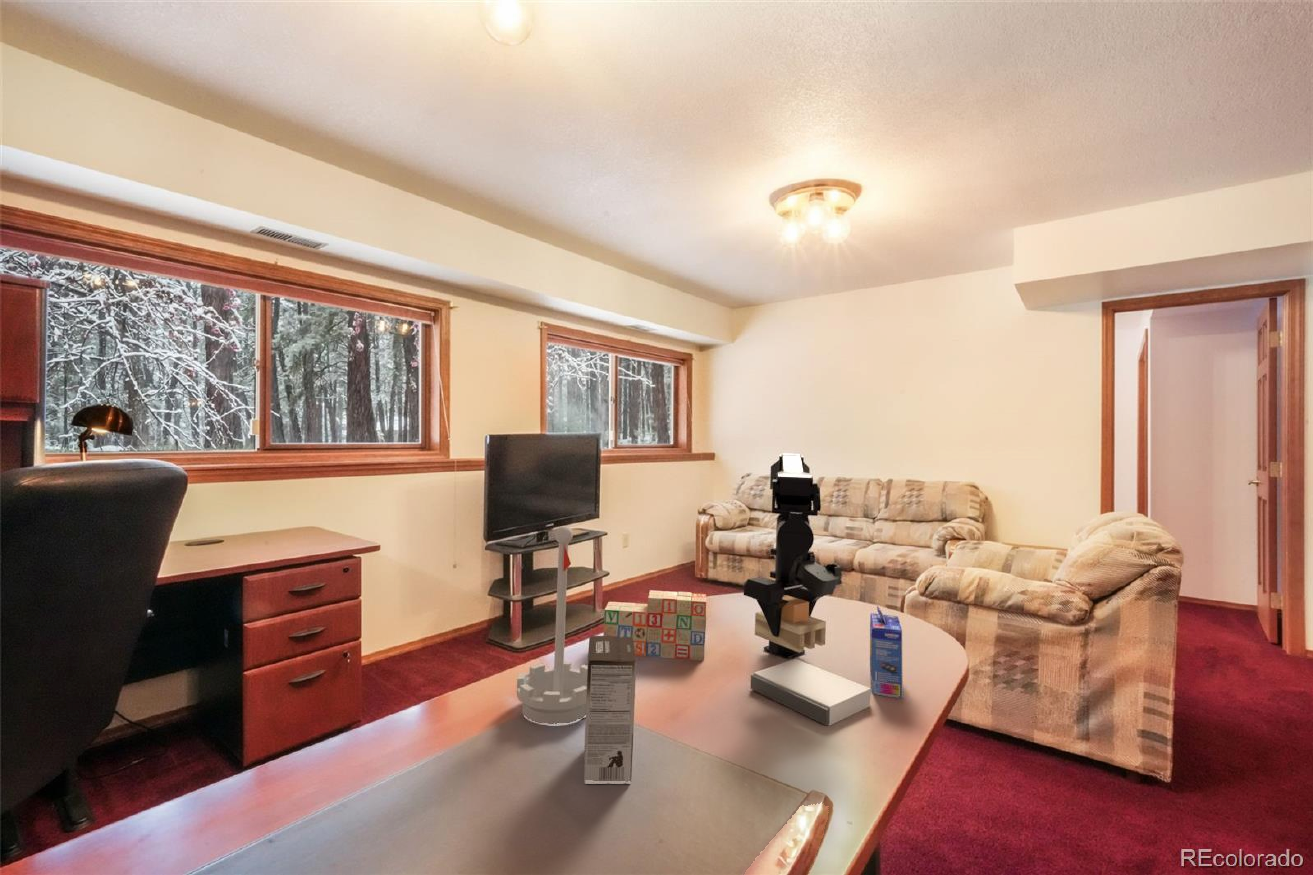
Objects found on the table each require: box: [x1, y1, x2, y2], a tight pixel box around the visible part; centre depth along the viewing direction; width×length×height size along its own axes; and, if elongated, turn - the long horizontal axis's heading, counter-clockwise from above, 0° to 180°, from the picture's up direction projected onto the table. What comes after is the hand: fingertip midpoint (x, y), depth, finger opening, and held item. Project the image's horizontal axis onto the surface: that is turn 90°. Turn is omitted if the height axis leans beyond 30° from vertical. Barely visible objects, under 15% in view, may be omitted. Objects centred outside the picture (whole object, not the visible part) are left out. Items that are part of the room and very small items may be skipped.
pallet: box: [754, 610, 827, 653], centre depth 99 cm, size 7×10×4 cm
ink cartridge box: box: [869, 605, 904, 699], centre depth 105 cm, size 10×6×14 cm, turn 161°
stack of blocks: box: [602, 589, 707, 661], centre depth 119 cm, size 21×6×12 cm, turn 85°
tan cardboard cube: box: [781, 595, 809, 623], centre depth 99 cm, size 4×5×3 cm
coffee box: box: [583, 635, 637, 782], centre depth 76 cm, size 9×6×16 cm
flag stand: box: [516, 525, 588, 724], centre depth 91 cm, size 13×13×30 cm
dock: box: [749, 658, 872, 727], centre depth 99 cm, size 13×16×3 cm
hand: (789, 632), depth 99 cm, fingers closed on pallet, 7 cm apart
